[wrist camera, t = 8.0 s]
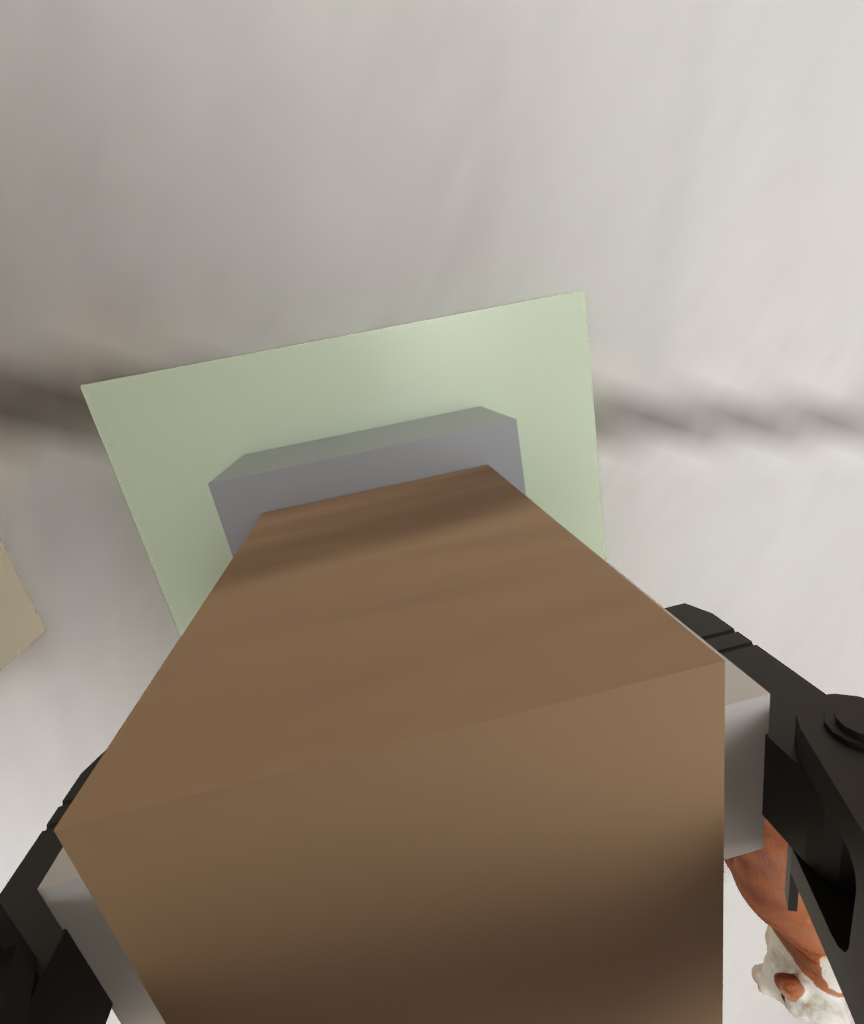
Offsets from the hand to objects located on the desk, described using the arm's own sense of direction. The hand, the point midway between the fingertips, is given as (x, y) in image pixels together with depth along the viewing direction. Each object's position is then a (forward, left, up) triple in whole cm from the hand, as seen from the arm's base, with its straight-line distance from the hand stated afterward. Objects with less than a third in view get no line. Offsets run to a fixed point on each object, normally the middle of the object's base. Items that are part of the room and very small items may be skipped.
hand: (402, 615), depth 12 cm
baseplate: (0, 0, -7) cm, 7 cm away
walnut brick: (0, 0, -2) cm, 2 cm away
